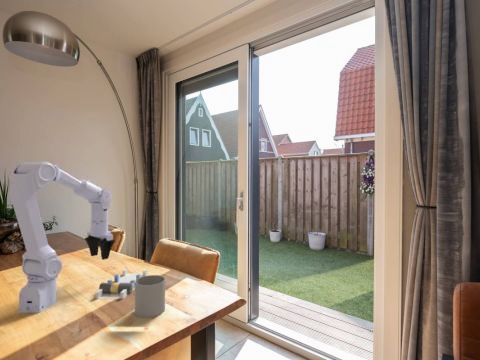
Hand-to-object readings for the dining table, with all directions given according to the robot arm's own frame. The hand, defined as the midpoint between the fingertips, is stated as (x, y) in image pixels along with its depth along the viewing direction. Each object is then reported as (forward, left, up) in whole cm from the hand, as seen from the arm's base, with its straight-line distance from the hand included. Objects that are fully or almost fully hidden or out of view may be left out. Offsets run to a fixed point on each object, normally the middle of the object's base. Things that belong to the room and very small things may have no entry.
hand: (99, 257), depth 107 cm
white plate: (-4, -11, -10) cm, 15 cm away
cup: (-24, -27, -10) cm, 37 cm away
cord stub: (-11, -11, -9) cm, 18 cm away
